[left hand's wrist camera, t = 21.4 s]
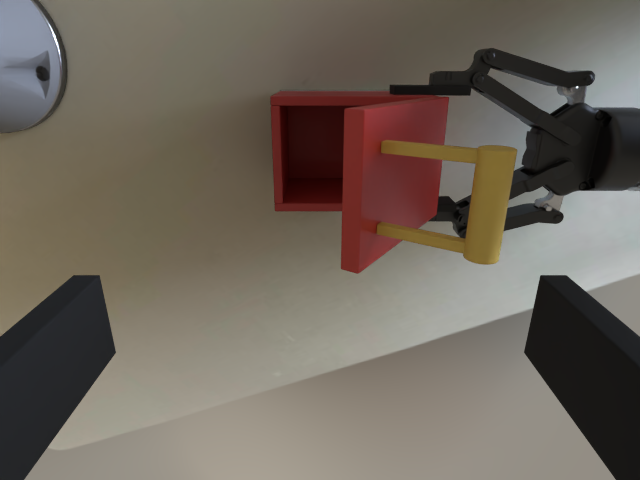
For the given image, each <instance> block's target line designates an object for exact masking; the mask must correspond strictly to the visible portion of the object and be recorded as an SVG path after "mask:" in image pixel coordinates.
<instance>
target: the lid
mask: <svg viewBox="0 0 640 480" xmlns="http://www.w3.org/2000/svg"><path fill="white" fill-rule="evenodd" d="M448 102H449V97H428V98H420V99H413V100H405V101H398V102H390V103H383V104H375V105H368V106H360V107H353V108H346V109H345V110H344V150H343V198H342V245H341V269H343V270H346V271H350V272H353V273H357V274H358V273H360V272H361V271H362V270H364V269H365V268H366V267H368V266H369V265H370V264H372V263H373V262H374V261H376V260H377V259H378V258H380V257H381V256H382V255H384V254H385V253H386V252H388V251H389V250H390V249H392V248H393V247H394V246H396V245H397V244H398V243H400V242H401V241H402V240H405V241H409V242H414V243H418V244H423V245H428V246H432V247H437V248H441V249H446V250H450V251H455V252H459V253H464V254H463V256H464V258H465V259H467V260H468V261H471V262H474V263H478V264H494V263H496V262H498V260H499V255H500V249H501V243H502V237H503V231H504V225H505V219H506V213H507V207H508V202H509V196H510V190H511V184H512V178H513V172H514V166H515V160H516V155H517V149H515V148H512V147H507V146H496V145H486V146H480V147H478V148H468V147H457V146H447V145H444V140H445V130H446V121H447V111H448ZM442 160H449V161H458V162H467V163H476V165H475V173H474V180H473V187H472V195H471V202H470V209H469V217H468V224H467V231H466V239H465V238H460V237H455V236H450V235H445V234H440V233H435V232H430V231H425V230H420V229H418V228H420V227H421V226H422V225H423V224H425V223H426V222H427V221H429V220H430V219H431V218H433V217H434V216H435V215H436V214H437V205H438V196H439V186H440V177H441V168H442Z"/></svg>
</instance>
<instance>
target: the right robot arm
mask: <svg viewBox="0 0 640 480" xmlns="http://www.w3.org/2000/svg"><path fill="white" fill-rule="evenodd" d="M490 68H492V69H496V70H499V71H502V72H505V73H508V74H511V75H515V76H518V77H521V78H524V79H527V80H531V81H534V82H537V83H540V84H543V85H548V86H558V87H557V91H558V94H559V95H562V96H565V97H566V98H567V100H568V103H566V104H565V105H563V106H562V107H560V108H559V109H557V110H555V111H554V112H552V113H551V114H549V113H547V112H545V111H543V110H541V109H539V108H537V107H536V106H534V105H533V104H531V103H530V102H528V101H527V100H525V99H524V98H522V97H521V96H519V95H518V94H516V93H514V92H513V91H511V90H510V89H508V88H507V87H505V86H504V85H502V84H501V83H499V82H498V81H496V80H495V79H493V78H492V77H490V76H488V75H487V74H488V72H489V70H490ZM594 79H595V74H594V72H592V71H563V70H560V69H556V68H553V67H550V66H547V65H544V64H541V63H538V62H535V61H531V60H528V59H525V58H522V57H519V56H516V55H513V54H509V53H506V52H503V51H500V50H497V49H494V48H489V49H481V50H478V51H477V52H476V53H475V54H474V60H473V63H472V65H471V67H470V68H469V69H468V70H466V71H435V72H433V73H431V74H430V79H429V85H390V94H393V95H470V93H471V88H472V89H474V90H475V91H477V92H478V93H480V94H481V95H483V96H485V97H486V98H488V99H489V100H491V101H492V102H494V103H496V104H497V105H499V106H500V107H502V108H503V109H505V110H506V111H508V112H510V113H511V114H513V115H514V116H516V117H517V118H519V119H520V120H521V121H522V122H524V123H525V124H527V125H528V126H530V127H532V128H531V130H530V131H527V137H526V146H527V148H526V151H525V153H524V155H523V159H522V165H524V166H523V167H521V168H519V169H517V170H515V171H514V172H513V178H512V184H511V190H510V196H509V200H510V199H512V198H514V197H516V196H518V195H520V194H522V193H525V192H531V191H534V190H536V189H538V188H540V187H542V186H543V187H544V188H545V189H547V190H548V191H549V194H548V195H547V196H546V197H544V198H540V199H536V200H535V203H529V204H522V205H518V206H514V207H510V208H507V213H506V219H505V225H504V231H506V230H510V229H514V228H518V227H522V226H526V225H530V224H534V223H538V222H540V223H553V224H557V223H560V222H561V221H562V220H563V217H564V216H563V214H562V213H561V212H560V211H559V210H560V206H561V203H562V200H563V196H564V195H567V194H569V193H572V192H574V191H623V190H629V191H640V109H638V108H592V107H590V106H589V105H587V104H586V103H584V102H585V95H586V88H587V86H588V85H590V84H592V83H593V81H594ZM470 202H471V195H470V196H468V197H466V198H464V199H462V200H460V201H458V202H456V203H455V202H454V201H453V200H452V199H451V198H450V197H449V196H438V205H437V214H436V215H435V216H434V217H433V218H431V219H430V220H429V221H451V222H452V223H453V229H454V231H455V232H456V233H457V234H458V235H459V237H460V238H465V239H466V231H467V224H468V217H469V209H470Z"/></svg>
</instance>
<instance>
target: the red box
mask: <svg viewBox="0 0 640 480" xmlns="http://www.w3.org/2000/svg"><path fill="white" fill-rule="evenodd" d="M428 97H438V96H434V95H393V94H390V91H380V90H280V91H279V92H278V93H276V94H274V95H272V96H271V97H270V99H271V105H272V106H271V124H272V149H273V174H274V200H275V211H342V198H343V150H344V110H345V109H346V108H353V107H360V106H368V105H375V104H383V103H390V102H398V101H405V100H413V99H420V98H428Z"/></svg>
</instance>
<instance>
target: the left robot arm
mask: <svg viewBox="0 0 640 480" xmlns="http://www.w3.org/2000/svg"><path fill="white" fill-rule="evenodd" d="M66 81H67V60H66V54H65V50H64V46H63V43H62V40H61V37H60V34H59V32H58V30H57V28H56V26H55V24H54V22H53V20H52V19H51V17H50V16H49V14H48V13H47V11H46V10H45V9H44V7H43V6H42V5H41V3H40V2H39V1H38V0H0V133H10V132H16V131H21V130H25V129H29V128H32V127H34V126H36V125H38V124H40V123H42V122H43V121H45V120H46V119H47V118H48V117H49V116H50V115H51V114H52V113H53V112H54V111H55V110H56V108H57V107H58V105H59V103H60V101H61V99H62V97H63V94H64V91H65V87H66ZM115 353H116V351H115V346H114V341H113V337H112V332H111V327H110V323H109V318H108V313H107V309H106V304H105V299H104V294H103V290H102V285H101V280H100V276H99V275H74V276H72V277H71V278H70V279H69V280H68V281H66V282H65V283H64V284H63V285H62V286H60V287H59V288H58V289H57V290H56V291H54V292H53V293H52V294H51V295H50V296H48V297H47V298H46V299H45V300H44V301H42V302H41V303H40V304H39V305H38V306H37V307H35V308H34V309H33V310H32V311H31V312H29V313H28V314H27V315H26V316H25V317H23V318H22V319H21V320H20V321H19V322H17V323H16V324H15V325H14V326H13V327H11V328H10V329H9V330H8V331H7V332H5V333H4V334H3V335H2V336H1V337H0V480H24V479H25V478H26V476H27V475H28V473H29V472H30V471H31V469H32V468H33V466H34V465H35V464H36V462H37V461H38V460H39V458H40V457H41V455H42V454H43V453H44V451H45V450H46V449H47V447H48V446H49V444H50V443H51V442H52V440H53V439H54V437H55V436H56V435H57V433H58V432H59V431H60V429H61V428H62V426H63V425H64V424H65V422H66V421H67V419H68V418H69V417H70V415H71V414H72V413H73V411H74V410H75V408H76V407H77V406H78V404H79V403H80V401H81V400H82V399H83V397H84V396H85V394H86V393H87V392H88V390H89V389H90V388H91V386H92V385H93V383H94V382H95V381H96V379H97V378H98V376H99V375H100V374H101V372H102V371H103V370H104V368H105V367H106V365H107V364H108V363H109V361H110V360H111V358H112V357H113V356H114V354H115ZM524 353H525V354H526V356H527V357H528V358H529V360H530V361H531V363H532V364H533V365H534V367H535V368H536V370H537V371H538V372H539V374H540V375H541V376H542V378H543V379H544V381H545V382H546V383H547V385H548V386H549V388H550V389H551V390H552V392H553V393H554V394H555V396H556V397H557V399H558V400H559V401H560V403H561V404H562V406H563V407H564V408H565V410H566V411H567V413H568V414H569V415H570V417H571V418H572V419H573V421H574V422H575V424H576V425H577V426H578V428H579V429H580V431H581V432H582V433H583V435H584V436H585V437H586V439H587V440H588V442H589V443H590V444H591V446H592V447H593V449H594V450H595V451H596V453H597V454H598V455H599V457H600V458H601V460H602V461H603V462H604V464H605V465H606V466H607V468H608V469H609V471H610V472H611V473H612V475H613V476H614V478H615V479H616V480H640V337H639V336H638V335H637V334H636V333H635V332H633V331H632V330H631V329H630V328H629V327H627V326H626V325H625V324H624V323H623V322H621V321H620V320H619V319H618V318H617V317H615V316H614V315H613V314H612V313H611V312H609V311H608V310H607V309H606V308H605V307H603V306H602V305H601V304H600V303H599V302H597V301H596V300H595V299H594V298H593V297H592V296H590V295H589V294H588V293H587V292H586V291H584V290H583V289H582V288H581V287H580V286H578V285H577V284H576V283H575V282H574V281H572V280H571V279H570V278H569V277H568V276H566V275H541V276H540V280H539V285H538V290H537V294H536V299H535V304H534V309H533V313H532V318H531V323H530V327H529V332H528V337H527V341H526V346H525V351H524Z"/></svg>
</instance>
